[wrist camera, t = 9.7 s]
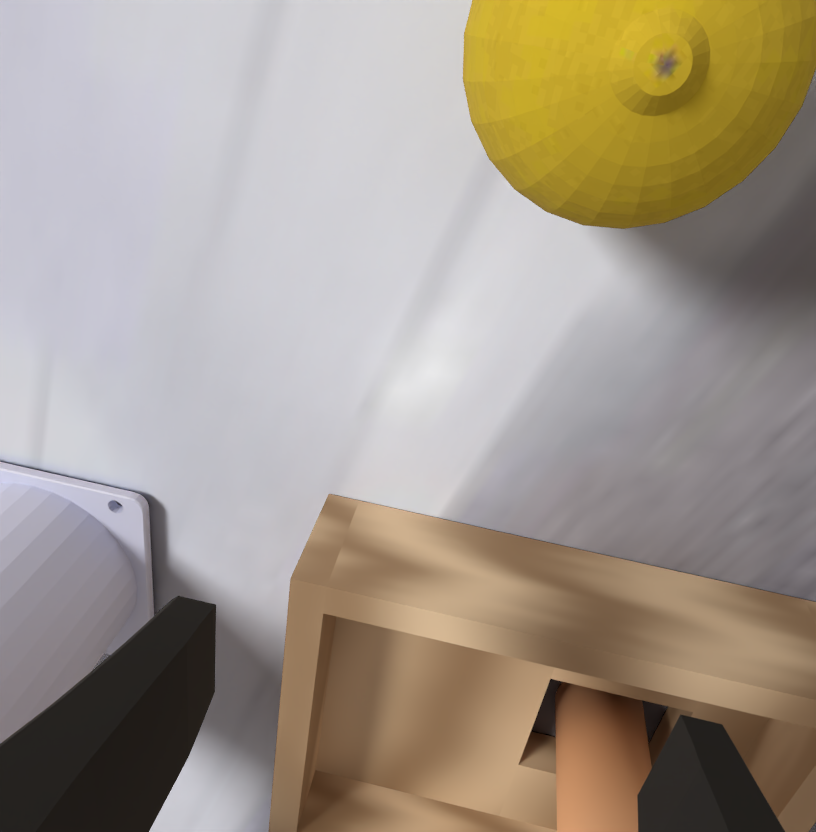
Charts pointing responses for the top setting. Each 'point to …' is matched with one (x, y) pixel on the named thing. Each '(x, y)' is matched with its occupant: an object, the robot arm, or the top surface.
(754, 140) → the lemon
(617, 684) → the box
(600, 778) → the peg
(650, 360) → the top surface
